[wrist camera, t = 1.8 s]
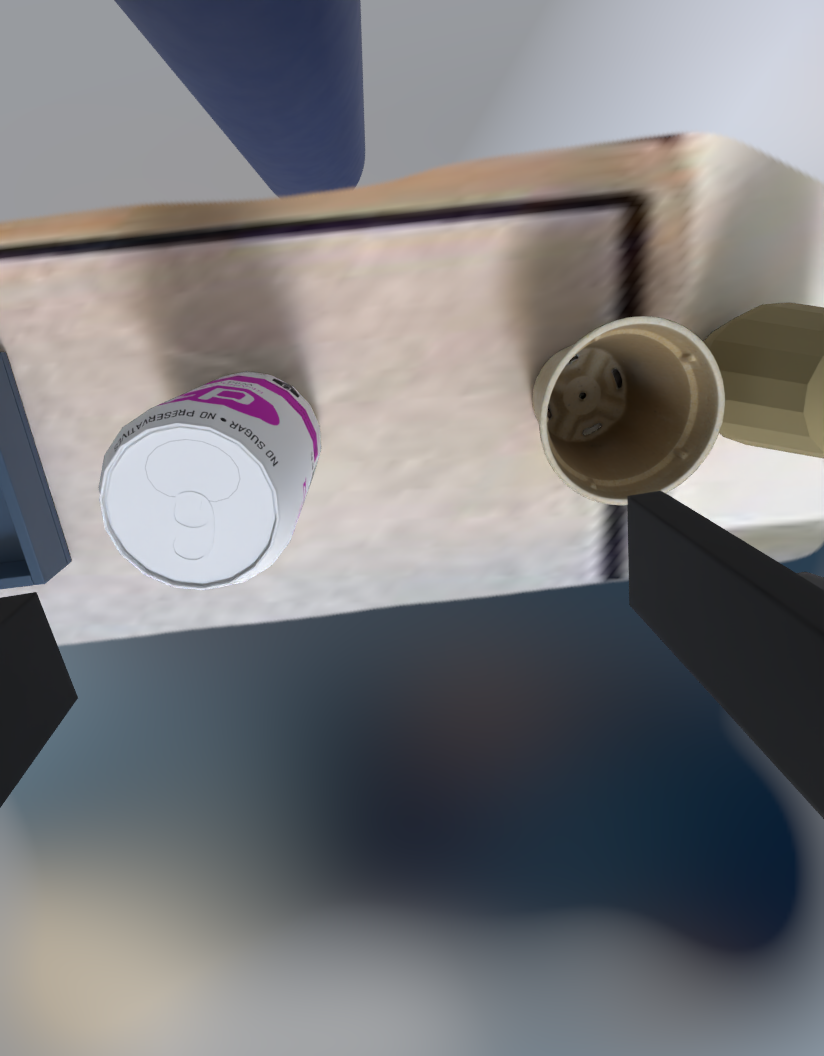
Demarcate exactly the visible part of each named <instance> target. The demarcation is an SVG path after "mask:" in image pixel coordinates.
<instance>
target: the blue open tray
mask: <svg viewBox="0 0 824 1056" xmlns="http://www.w3.org/2000/svg"><path fill="white" fill-rule="evenodd" d="M71 561H72V560H71V557H70V554H69V551H68V548H67V545H66V541H65V538H64V535H63V532H62V529H61V526H60V522H59V519H58V516H57V513H56V510H55V507H54V503H53V500H52V497H51V494H50V491H49V487H48V484H47V481H46V478H45V475H44V472H43V468H42V465H41V462H40V459H39V456H38V453H37V449H36V446H35V443H34V440H33V437H32V434H31V430H30V427H29V424H28V421H27V418H26V414H25V411H24V408H23V405H22V402H21V399H20V395H19V392H18V389H17V386H16V383H15V380H14V376H13V373H12V370H11V367H10V364H9V360H8V357H7V354H6V352H0V589H6V588H14V587H23V586H31V585H39V584H45V583H46V582H48V581H49V580H50V579H51V578H52V577H54V576H55V575H56V574H57V573H58V572H59V571H61V570H62V569H63V568H64V567H65V566H67V565H68V564H69V563H70V562H71Z"/></svg>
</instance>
